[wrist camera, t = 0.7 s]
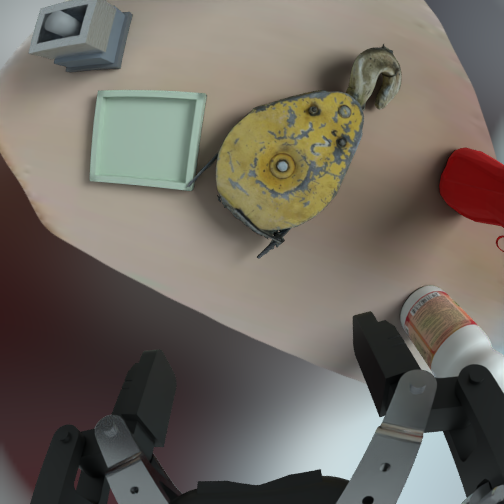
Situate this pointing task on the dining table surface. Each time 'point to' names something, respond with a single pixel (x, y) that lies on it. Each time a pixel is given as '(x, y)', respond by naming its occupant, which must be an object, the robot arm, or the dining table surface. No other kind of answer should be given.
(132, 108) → the tray
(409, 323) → the fruit juice
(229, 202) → the pulley block
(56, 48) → the gray open box
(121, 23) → the grey peg stand
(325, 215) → the dining table surface
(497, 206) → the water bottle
